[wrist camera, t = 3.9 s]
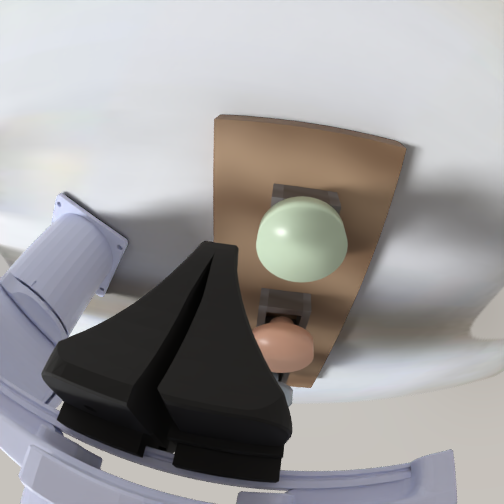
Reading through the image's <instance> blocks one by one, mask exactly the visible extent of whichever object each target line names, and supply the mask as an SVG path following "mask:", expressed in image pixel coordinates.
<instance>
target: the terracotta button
mask: <svg viewBox="0 0 504 504" xmlns="http://www.w3.org/2000/svg"><path fill="white" fill-rule="evenodd" d="M252 332H253V334H254V337H255V339H256V341H257V344H258V346H259V348H260V350H261V352H262V355H263V357H264V359H265V361H266V363H267V364H268V366H269V368H270V370H271V372H275V373H288V372H294V371H298V370H301V369H303V368H305V367H307V366H308V365H309V364H310V363H311V362H312V360H313V358H314V341H313V337H312V335H311V334H310V333H309V332H308V331H307V330H305V329H304V328H302V327H300V326H297V325H294V323H293V321H292V320H291V319H290V318H288V317H284V316H279V317H275V318H273V319H272V320H271V321H270V323H267V324H263V325H260V326H258V327H256V328H254V329H253V330H252Z"/></svg>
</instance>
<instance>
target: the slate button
mask: <svg viewBox="0 0 504 504" xmlns="http://www.w3.org/2000/svg"><path fill="white" fill-rule="evenodd" d="M272 374H273V375H274V377H275V379H276V381H277V382H278V384H279V385H280V387H281V389H282V390H283V392H284V394H285V397H286V401H287V404H288V407H289V406H290V405H291V404H292V395H293V390H292V388H291V387H290V386H288V385H287V384H285V383H282V382H279V381H278V374H277V373H275V372H272Z"/></svg>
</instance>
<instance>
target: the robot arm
mask: <svg viewBox="0 0 504 504" xmlns="http://www.w3.org/2000/svg"><path fill="white" fill-rule="evenodd" d="M127 246H128V241H127V239H126V238H125V237H123V236H122V235H120V234H119V233H117V232H116V231H114V230H113V229H111V228H110V227H109V226H107V225H106V224H104V223H103V222H101V221H100V220H99V219H97V218H96V217H94V216H93V215H91V214H90V213H89V212H87V211H86V210H84V209H83V208H82V207H80V206H79V205H78V204H76V203H75V202H73V201H72V200H71V199H69V198H68V197H67V196H65V195H64V194H62V193H60V194H59V195H57V197H56V202H55V207H54V212H53V217H52V223H51V225H50V226H49V227H48V228H47V229H46V230H45V231H44V232H43V233H42V234H41V235H40V236H39V237H38V238H37V239H36V240H35V241H34V242H33V243H32V244H31V245H30V246H29V247H28V248H27V249H26V250H25V251H24V252H23V254H22V255H21V256H20V257H19V258H18V259H17V260H16V261H15V262H14V264H13V265H12V266H11V267H10V268H9V269H8V271H7V272H6V273H5V274H4V275H3V276H2V277H0V449H2V451H4V452H5V453H6V454H7V455H8V456H9V457H10V458H11V459H12V460H14V461H15V462H16V463H17V464H18V465H19V466H20V467H21V470H20V473H19V478H20V480H21V482H22V484H23V485H24V486H25V487H24V490H23V494H22V498H21V502H20V504H214V503H208V502H203V501H198V500H193V499H189V498H185V497H180V496H176V495H172V494H168V493H165V492H161V491H158V490H155V489H151V488H148V487H145V486H142V485H139V484H136V483H133V482H130V481H127V480H125V479H122V478H119V477H117V476H114V475H112V474H109V473H107V472H104V471H102V470H101V469H100V467H101V463H102V458H101V457H99V456H97V455H95V454H93V453H91V452H89V451H88V450H86V449H84V448H83V447H81V446H80V445H78V444H77V443H75V442H73V441H71V440H69V439H67V438H66V437H64V436H63V433H62V432H64V433H66V434H68V435H70V436H72V437H74V438H76V439H78V440H80V441H82V442H84V443H86V444H89V445H91V446H93V447H96V448H98V449H100V450H103V451H105V452H108V453H110V454H113V455H115V456H118V457H120V458H123V459H126V460H129V461H132V462H134V463H137V464H140V465H144V466H147V467H150V468H153V469H156V470H160V471H164V472H167V473H171V474H175V475H179V476H183V477H187V478H192V479H196V480H202V481H206V482H212V483H218V484H224V485H230V486H237V487H246V488H256V489H267V490H285V491H287V492H285V493H284V494H283V493H260V492H259V493H258V492H243V491H241V492H239V493H238V497H237V503H236V504H457V490H456V489H457V488H456V474H455V464H454V455H453V450H451V449H450V450H446V451H442V452H438V453H434V454H429V455H426V456H423V457H420V458H418V459H416V460H414V461H412V462H410V463H405V464H399V465H392V466H385V467H377V468H368V469H357V470H342V471H285V470H280V467H281V458H282V457H283V452H284V444H285V443H286V442H287V440H288V439H289V438H290V437H291V434H292V421H291V416H290V411H289V408H288V404H287V401H286V397H285V394H284V392H283V390H282V389H281V387H280V385H279V384H278V382H277V381H276V379H275V377H274V375H273V374H272V372H271V370H270V368H269V366H268V364H267V363H266V361H265V359H264V357H263V355H262V352H261V350H260V348H259V346H258V344H257V341H256V339H255V337H254V334H253V332H252V329H251V326H250V324H249V321H248V318H247V315H246V311H245V308H244V304H243V300H242V296H241V292H240V287H239V280H238V273H237V268H238V252H239V248H238V247H237V246H236V245H230V244H223V243H215V242H208V241H204V242H203V243H201V244H200V245H199V246H198V247H197V249H196V250H195V251H194V252H193V253H192V254H191V255H190V256H189V257H188V258H187V259H186V260H185V261H184V262H183V263H182V264H181V265H180V266H179V267H177V268H176V269H175V270H174V271H173V272H172V273H171V274H170V275H169V276H168V277H167V278H165V279H164V280H163V281H162V282H161V283H160V284H158V285H157V286H156V287H155V288H154V289H152V290H151V291H150V292H149V293H147V294H146V295H145V296H143V297H142V298H141V299H139V300H138V301H136V302H135V303H134V304H132V305H131V306H129V307H127V308H126V309H124V310H123V311H121V312H119V313H118V314H116V315H115V316H113V317H111V318H109V319H107V320H106V321H104V322H102V323H100V324H98V325H96V326H94V327H92V328H90V329H88V330H85V331H83V332H81V333H78V334H76V335H73V336H71V337H69V335H70V333H71V332H72V330H73V328H74V326H75V325H76V323H77V321H78V320H79V318H80V316H81V315H82V313H83V312H84V310H85V308H86V307H87V305H88V304H89V302H90V300H91V299H92V297H93V296H94V294H95V293H96V294H97V295H99V296H100V297H104V295H105V293H106V291H107V289H108V286H109V284H110V282H111V280H112V277H113V275H114V273H115V271H116V269H117V266H118V264H119V262H120V260H121V258H122V256H123V254H124V252H125V250H126V248H127ZM62 401H64V403H63V406H62V408H61V410H60V411H59V410H57V409H55V408H56V407H58V405H60V403H61V402H62ZM61 431H62V432H61ZM174 452H175V454H173V453H174Z"/></svg>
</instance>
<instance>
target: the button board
mask: <svg viewBox="0 0 504 504" xmlns="http://www.w3.org/2000/svg"><path fill="white" fill-rule="evenodd" d="M405 153H406V148H405V147H404V146H403V145H402V144H401V143H399V142H398V141H394V140H390V139H386V138H382V137H378V136H374V135H370V134H365V133H360V132H356V131H351V130H346V129H341V128H335V127H330V126H324V125H318V124H311V123H305V122H298V121H290V120H282V119H273V118H263V117H252V116H238V115H219V116H218V117H216V118H215V119H214V168H213V216H214V242H215V243H223V244H230V245H236V246H237V247H238V248H239V252H238V268H237V273H238V280H239V287H240V292H241V296H242V300H243V304H244V308H245V311H246V315H247V318H248V321H249V324H250V326H251V329H252V330H253V329H254V328H256V327H258V326H260V325H263V324H267V323H270V321H271V320H272V319H273V318H275V317H279V316H284V317H288V318H290V319H291V320H292V321H293V323H294V325H297V326H300V327H302V328H304V329H305V330H307V331H308V332H309V333H310V334H311V335H312V337H313V341H314V358H313V360H312V362H311V363H310V364H309V365H308V366H307V367H305V368H303V369H301V370H298V371H294V372H288V373H277V374H278V381H279V382H282V383H285V384H287V385H288V386H293V387H306V388H311V387H312V385H313V383H314V382H315V380H316V378H317V376H318V374H319V372H320V370H321V369H322V367H323V365H324V363H325V361H326V359H327V357H328V355H329V353H330V351H331V349H332V347H333V345H334V343H335V341H336V339H337V337H338V335H339V333H340V331H341V329H342V327H343V324H344V322H345V320H346V318H347V316H348V314H349V311H350V309H351V307H352V305H353V302H354V300H355V298H356V296H357V293H358V291H359V289H360V286H361V284H362V281H363V279H364V276H365V274H366V272H367V269H368V266H369V264H370V261H371V259H372V256H373V254H374V251H375V248H376V246H377V243H378V240H379V237H380V234H381V232H382V229H383V226H384V223H385V220H386V217H387V214H388V211H389V208H390V205H391V202H392V198H393V195H394V192H395V189H396V185H397V182H398V178H399V175H400V171H401V168H402V164H403V160H404V156H405ZM300 196H304V197H312V198H316V199H319V200H322V201H324V202H326V203H327V204H329V205H330V206H331V207H333V208H334V209H335V210H336V212H337V213H338V214H339V216H340V217H341V219H342V222H343V225H344V229H345V233H346V237H347V243H348V247H347V253H346V256H345V258H344V260H343V262H342V263H341V265H340V266H339V267H338V268H337V269H336V270H335V271H334V272H333V273H331V274H330V275H328V276H326V277H324V278H322V279H319V280H316V281H312V282H292V281H288V280H284V279H282V278H279V277H277V276H275V275H274V274H272V273H271V272H269V271H268V270H267V269H266V268H265V267H264V266H263V264H262V263H261V261H260V259H259V257H258V254H257V250H256V241H257V235H258V230H259V225H260V222H261V220H262V218H263V216H264V215H265V213H266V212H267V211H268V210H269V209H270V208H271V207H272V206H273V205H275V204H276V203H278V202H280V201H282V200H285V199H288V198H291V197H300Z"/></svg>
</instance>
